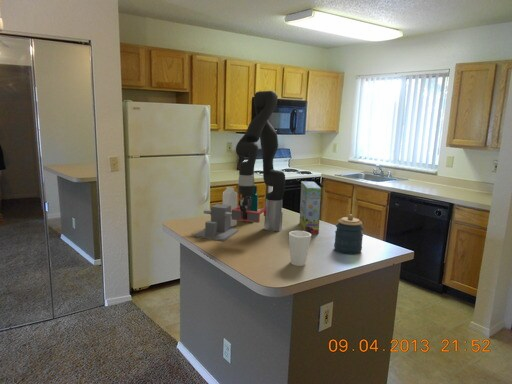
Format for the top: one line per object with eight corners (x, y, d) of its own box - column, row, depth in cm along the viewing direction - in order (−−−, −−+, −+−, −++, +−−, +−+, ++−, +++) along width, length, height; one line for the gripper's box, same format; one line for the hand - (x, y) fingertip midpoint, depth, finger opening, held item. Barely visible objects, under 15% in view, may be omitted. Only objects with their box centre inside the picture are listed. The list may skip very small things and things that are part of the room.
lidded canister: (328, 248, 183) (330, 213, 180) (345, 244, 191) (348, 210, 188) (349, 256, 173) (353, 219, 170) (367, 251, 181) (370, 215, 178)
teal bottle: (241, 218, 233) (242, 183, 229) (254, 218, 235) (256, 183, 231) (244, 222, 224) (245, 186, 220) (258, 222, 226) (259, 186, 222)
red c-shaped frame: (258, 223, 182) (258, 212, 181) (231, 219, 187) (231, 209, 186) (266, 216, 196) (267, 206, 195) (241, 213, 200) (241, 203, 199)
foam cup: (294, 268, 157) (296, 238, 154) (283, 260, 165) (284, 231, 162) (313, 265, 161) (315, 235, 159) (301, 258, 169) (303, 229, 167)
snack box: (297, 223, 228) (300, 180, 223) (312, 223, 228) (315, 181, 223) (303, 233, 206) (306, 187, 202) (319, 234, 207) (322, 187, 202)
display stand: (224, 241, 188) (224, 213, 186) (193, 236, 194) (193, 209, 191) (238, 231, 206) (239, 206, 203) (210, 227, 211) (210, 202, 209)
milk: (228, 227, 214) (230, 188, 209) (221, 224, 218) (222, 186, 213) (236, 225, 218) (237, 187, 214) (229, 223, 222) (230, 185, 218)
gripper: (248, 186, 175) (247, 223, 178) (258, 182, 187) (257, 216, 191) (233, 185, 177) (233, 221, 180) (243, 181, 190) (243, 214, 193)
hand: (245, 218), depth 185 cm, fingers closed on red c-shaped frame, 1 cm apart
